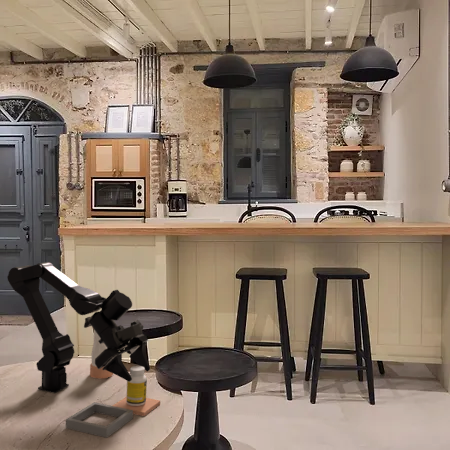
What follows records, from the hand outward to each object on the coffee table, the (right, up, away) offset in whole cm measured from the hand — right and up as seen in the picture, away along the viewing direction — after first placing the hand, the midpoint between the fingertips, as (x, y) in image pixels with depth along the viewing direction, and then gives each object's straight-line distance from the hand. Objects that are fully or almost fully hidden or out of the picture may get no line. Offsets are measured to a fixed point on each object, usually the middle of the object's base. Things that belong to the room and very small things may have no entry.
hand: (140, 375), depth 144 cm
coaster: (-1, -9, +1) cm, 9 cm away
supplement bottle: (-1, -8, +1) cm, 8 cm away
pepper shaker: (-16, -7, +25) cm, 31 cm away
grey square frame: (-9, -9, -10) cm, 16 cm away
